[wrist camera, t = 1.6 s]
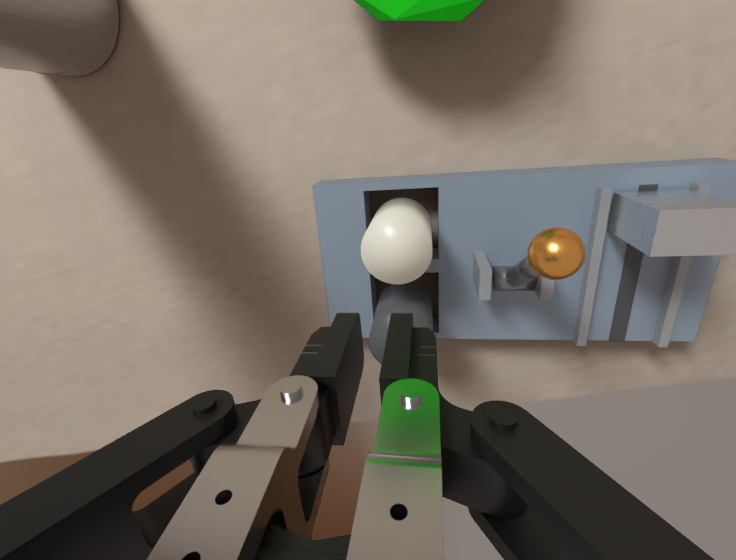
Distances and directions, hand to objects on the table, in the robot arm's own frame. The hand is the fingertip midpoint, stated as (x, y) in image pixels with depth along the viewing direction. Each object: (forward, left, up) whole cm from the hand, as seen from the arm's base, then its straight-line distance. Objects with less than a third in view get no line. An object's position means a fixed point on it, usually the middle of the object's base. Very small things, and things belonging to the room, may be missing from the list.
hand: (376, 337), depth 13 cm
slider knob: (-1, +15, -14) cm, 21 cm away
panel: (+3, +7, -17) cm, 19 cm away
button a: (0, 0, -14) cm, 14 cm away
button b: (+6, 0, -14) cm, 15 cm away
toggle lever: (+3, +7, -12) cm, 14 cm away
